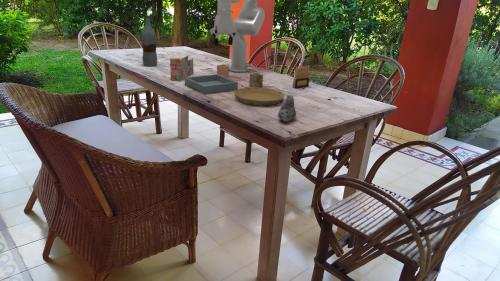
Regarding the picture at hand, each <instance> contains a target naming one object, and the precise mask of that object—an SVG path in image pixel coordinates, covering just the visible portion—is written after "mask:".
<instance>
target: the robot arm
mask: <svg viewBox="0 0 500 281" xmlns="http://www.w3.org/2000/svg"><path fill="white" fill-rule="evenodd" d="M216 1H217V11H216V12H217V13H216V15H215V18H214V23H213V27H212V28H210V29H209V32H210V35H211V36H212V38H213V46H216V47H217V46H219V37H220V35H221V36H222V35H223V36H225V35H227V36H228V39H227V40H228V41H227V42H228V45H229V46H231V60H230V64H231V66H229V72H235V73H247V72H249V68H250V67H253V63H247V61H248V60H247V59H248V58H247V56H248V40H247V38H246V36H251V37H255V36H258V35H259V33H260V30H261V28H262V26H263V23H264V21H265V17H266V16H265V14H266V13H265V10H264V9H263V7H260V6H258V2H257V0H244V2H243V4H242V6H241V8H240V9H239V10H240V11H239V13H238V17H237V18H236V17H235V18H234V19H233V16H232V14H234V13H233V10H232V4H238V3H240V2H241V0H216Z"/></svg>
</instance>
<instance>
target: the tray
mask: <svg viewBox="0 0 500 281" xmlns="http://www.w3.org/2000/svg"><path fill="white" fill-rule="evenodd" d="M184 86H186V87H188V88H190V89H192V90H194V91H196V92H198V93H200V94H203V95H210V94H211V95H212V94H217V93H224V92H230V91H231V92H233V91H236V90H238V89H239V82H238V81H236V80H234V79H231V78H226V77H223V76H221V75H218V74H217V73H215V74H205V75H198V76H197V75H196V76H188V77H186V78H185V79H184Z"/></svg>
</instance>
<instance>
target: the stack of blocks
mask: <svg viewBox="0 0 500 281" xmlns="http://www.w3.org/2000/svg"><path fill="white" fill-rule="evenodd" d="M169 64H170V65H169V68H170V69H169V70H170V81H176V82H177V81H178V82H182V81H185V78H186V77H191V75H193V74H194V57H189V55H188V54H176V55H174V56H171V57H170V58H169Z"/></svg>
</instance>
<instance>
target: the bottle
mask: <svg viewBox="0 0 500 281" xmlns="http://www.w3.org/2000/svg"><path fill="white" fill-rule="evenodd" d="M140 36H141V45H142V63H143V66H144V67H149V68H151V67H153V68H154V67H157V65H158V55H157V34H156V31H155V30H154V29H153V27H152V25H151V16H150V15H145V27H144V28H143V29H142V31H141V35H140Z"/></svg>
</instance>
